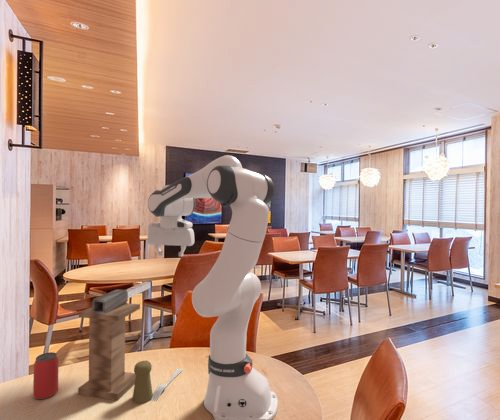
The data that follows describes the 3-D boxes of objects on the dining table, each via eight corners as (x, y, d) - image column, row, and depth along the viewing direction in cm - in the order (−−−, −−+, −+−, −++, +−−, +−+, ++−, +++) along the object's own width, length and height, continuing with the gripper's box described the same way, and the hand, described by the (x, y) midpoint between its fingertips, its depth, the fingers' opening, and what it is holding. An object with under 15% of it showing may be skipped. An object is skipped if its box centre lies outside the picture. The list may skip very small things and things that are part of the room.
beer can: (28, 397, 97) (28, 358, 97) (48, 386, 103) (49, 350, 103) (42, 402, 95) (43, 362, 95) (63, 390, 101) (63, 353, 101)
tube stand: (139, 379, 108) (140, 291, 108) (117, 400, 96) (118, 300, 96) (103, 374, 110) (104, 288, 110) (78, 394, 99) (79, 297, 99)
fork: (184, 376, 115) (185, 368, 116) (156, 403, 95) (157, 394, 95) (177, 375, 116) (178, 367, 116) (148, 402, 96) (148, 393, 96)
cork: (146, 405, 94) (146, 368, 94) (128, 402, 95) (128, 366, 95) (156, 393, 100) (156, 359, 100) (139, 391, 101) (139, 357, 101)
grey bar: (152, 287, 127) (152, 281, 127) (118, 302, 105) (118, 295, 105) (146, 286, 127) (146, 280, 127) (112, 302, 106) (112, 295, 106)
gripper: (144, 222, 131) (144, 255, 131) (190, 223, 127) (190, 257, 127) (152, 222, 137) (151, 253, 137) (196, 223, 133) (195, 255, 133)
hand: (170, 255), depth 132 cm, fingers open, 8 cm apart
